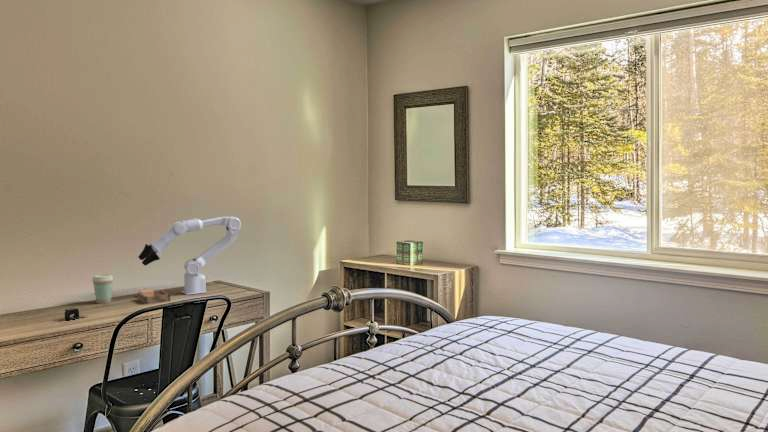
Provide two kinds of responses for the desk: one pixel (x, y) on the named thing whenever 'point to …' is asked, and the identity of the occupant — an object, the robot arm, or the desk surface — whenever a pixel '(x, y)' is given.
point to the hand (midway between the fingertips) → (141, 261)
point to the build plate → (70, 312)
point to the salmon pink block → (147, 292)
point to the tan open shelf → (154, 298)
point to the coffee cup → (103, 288)
